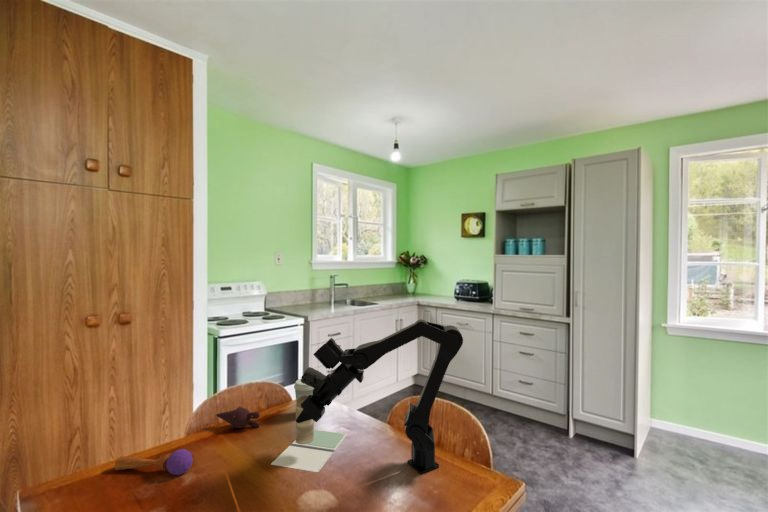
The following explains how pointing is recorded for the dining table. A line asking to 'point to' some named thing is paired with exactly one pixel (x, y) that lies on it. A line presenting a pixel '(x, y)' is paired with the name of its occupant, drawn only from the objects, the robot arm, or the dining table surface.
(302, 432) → the wooden pin
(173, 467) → the kendama
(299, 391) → the coffee cup
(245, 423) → the icecream
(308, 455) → the board
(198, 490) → the dining table surface
